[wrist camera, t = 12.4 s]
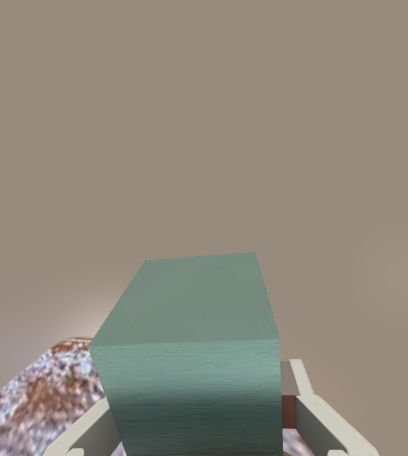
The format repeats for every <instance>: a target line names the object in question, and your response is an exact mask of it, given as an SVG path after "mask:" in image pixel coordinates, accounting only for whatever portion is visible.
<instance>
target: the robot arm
mask: <svg viewBox="0 0 408 456" xmlns="http://www.w3.org/2000/svg"><path fill="white" fill-rule="evenodd" d="M280 369H281V402H282V428H288V429H296V430H297V432H298V433H299V434H300V436H301V437H302V438H303V440H304V441H305V442H306V444H307V445H308V446H309V448H310V449H311V450H312V452H313V453H314V454H315V456H379V454H378V452H377V450H376V449H375V448H374V447H373V446H372V445H371V444H370V443H369V442H368V441H367V440H366V439H365V438H363V437H362V436H361V435H360V434H359V433H358V432H357V431H356V430H355V429H354V428H353V427H352V426H351V425H349V424H348V423H347V422H346V421H345V420H344V419H343V418H342V417H341V416H340V415H339V414H338V413H337V412H336V411H335V410H333V409H332V408H331V407H330V406H329V405H328V404H327V403H326V402H325V401H324V400H323V399H322V398H321V397H320V396H318V395H314V392H313V389H312V387H311V384H310V381H309V379H308V376H307V373H306V370H305V368H304V365H303V362H302V360H301V359H289V360H288V359H285V360H280ZM120 442H121V438H120V435H119V432H118V429H117V427H116V424H115V421H114V418H113V415H112V412H111V410H110V407H109V404H108V401H107V398H106V395H105V397H104V399H100V400H99V401H98V402H97V403H96V404H95V405H94V406H92V407H91V408H90V409H89V410H88V411H87V412H86V413H85V414H84V415H82V416H81V417H80V418H79V419H78V420H77V421H76V422H75V423H74V424H72V425H71V426H70V427H69V428H68V429H67V430H66V431H65V432H64V433H62V434H61V435H60V436H59V437H58V438H57V439H56V440H55V441H54V442H52V443H51V444H50V445H49V446H48V447H47V449H46V451H45V452H44V454H43V456H110V455H111V454H112V453H113V451H114V450H115V449H116V447H117V446H118V445H119V443H120Z"/></svg>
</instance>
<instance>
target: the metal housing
mask: <svg viewBox="0 0 408 456" xmlns="http://www.w3.org/2000/svg"><path fill="white" fill-rule="evenodd" d="M88 347H89V350H90V353H91V356H92V359H93V361H94V364H95V367H96V370H97V373H98V376H99V378H100V381H101V384H102V387H103V390H104V393H105V395H106V398H107V401H108V404H109V407H110V410H111V412H112V415H113V418H114V421H115V424H116V427H117V429H118V432H119V435H120V438H121V441H122V444H123V447H124V449H125V452H126V455H127V456H283V436H282V402H281V369H280V339H279V335H278V331H277V328H276V324H275V321H274V317H273V314H272V310H271V307H270V303H269V299H268V296H267V292H266V288H265V285H264V282H263V278H262V274H261V271H260V267H259V263H258V260H257V257H256V253H255V252H248V253H236V254H223V255H211V256H198V257H185V258H172V259H160V260H147V261H144V263H143V265H142V266H141V267H140V269H139V270H138V272H137V273H136V275H135V276H134V278H133V279H132V281H131V282H130V284H129V285H128V287H127V288H126V290H125V291H124V293H123V295H122V296H121V298H120V299H119V301H118V302H117V304H116V305H115V307H114V308H113V310H112V311H111V313H110V314H109V316H108V317H107V319H106V320H105V322H104V323H103V325H102V326H101V328H100V329H99V331H98V332H97V334H96V335H95V337H94V338H93V340H92V341H91V343H90V344H89V346H88Z"/></svg>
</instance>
